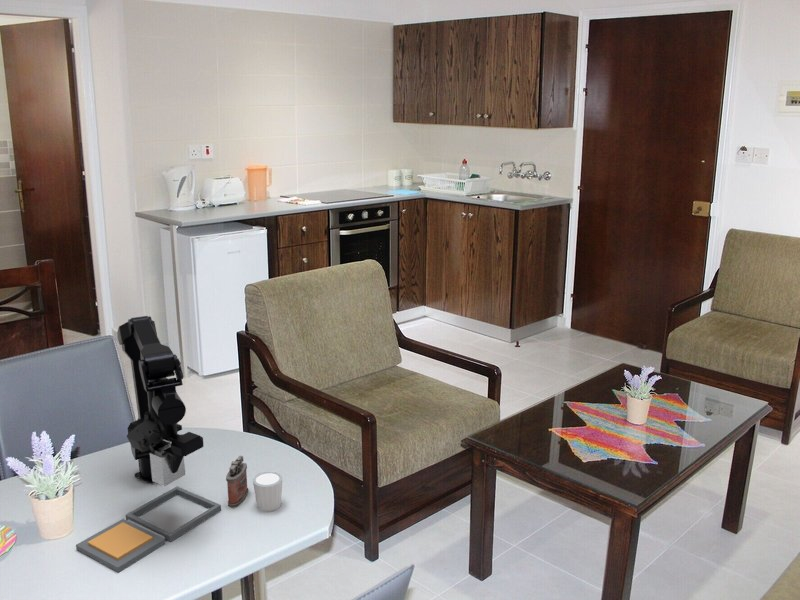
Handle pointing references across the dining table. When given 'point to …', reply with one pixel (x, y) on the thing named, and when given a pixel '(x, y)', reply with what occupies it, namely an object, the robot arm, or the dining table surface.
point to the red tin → (237, 482)
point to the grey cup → (268, 490)
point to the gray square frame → (171, 536)
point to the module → (164, 467)
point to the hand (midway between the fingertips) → (168, 469)
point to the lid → (121, 544)
